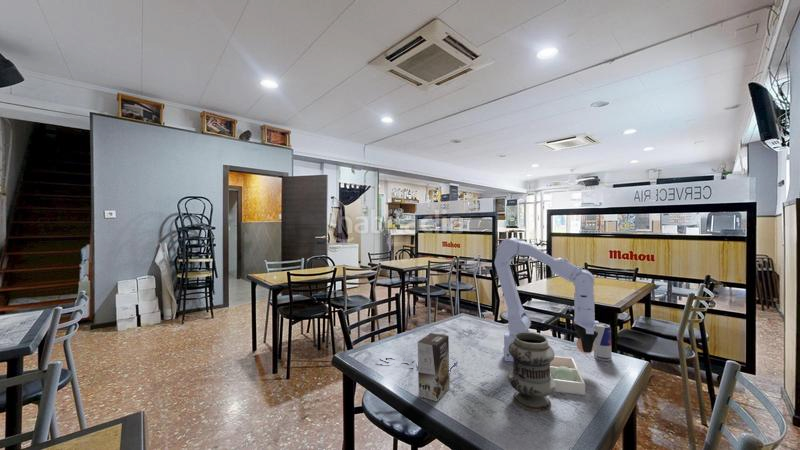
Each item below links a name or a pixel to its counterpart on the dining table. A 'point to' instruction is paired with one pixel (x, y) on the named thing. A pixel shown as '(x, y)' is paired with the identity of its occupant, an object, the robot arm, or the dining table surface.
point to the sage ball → (564, 373)
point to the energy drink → (602, 342)
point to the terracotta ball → (579, 346)
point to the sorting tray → (562, 385)
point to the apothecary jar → (531, 371)
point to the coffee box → (433, 366)
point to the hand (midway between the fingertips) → (585, 348)
